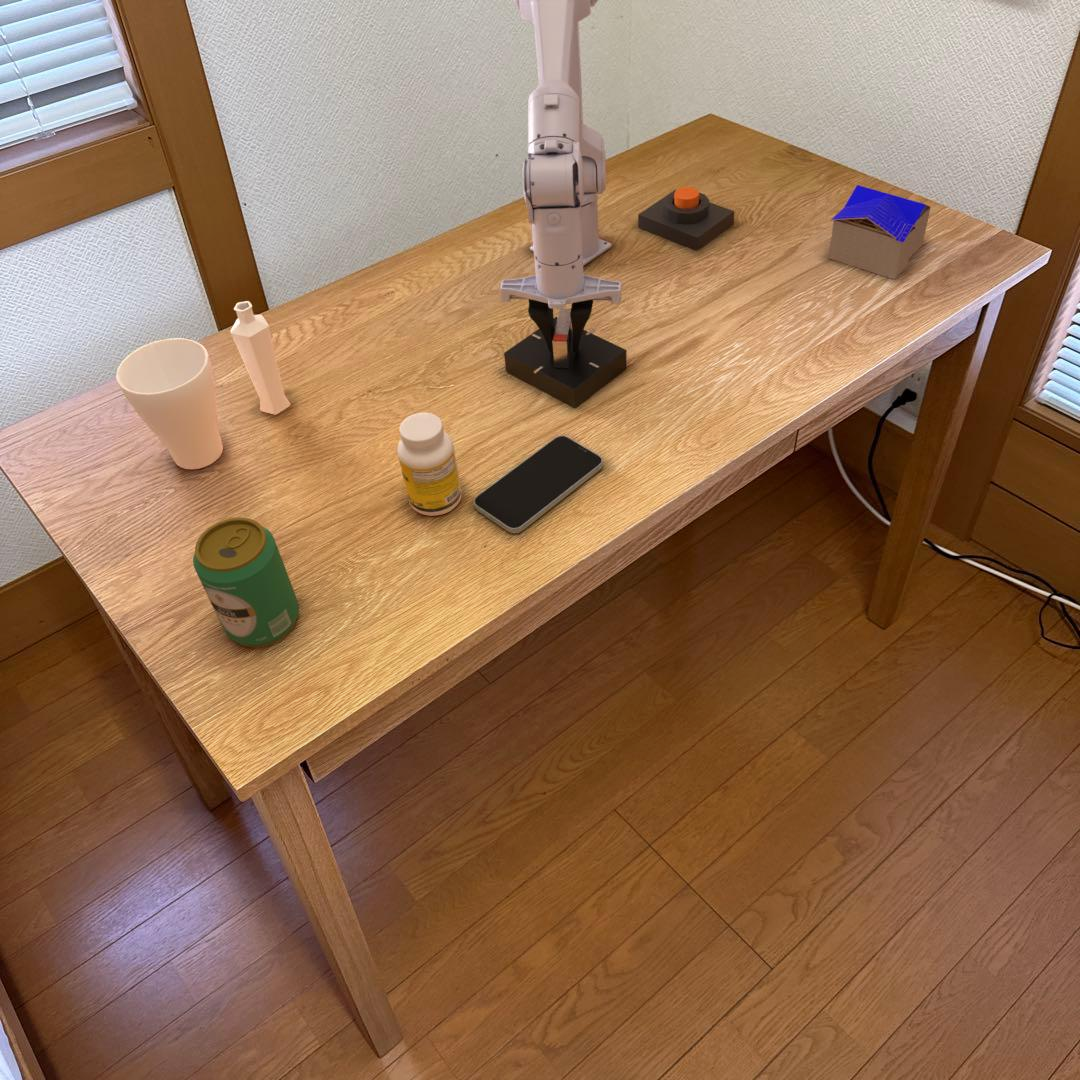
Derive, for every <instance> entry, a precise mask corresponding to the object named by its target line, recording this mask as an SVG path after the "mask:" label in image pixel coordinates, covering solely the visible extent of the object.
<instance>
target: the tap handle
mask: <svg viewBox="0 0 1080 1080" xmlns="http://www.w3.org/2000/svg"><path fill="white" fill-rule="evenodd" d="M570 312H571V308H563V309H558V314H557V317H558V318H557V322H556V327H555V332H554V337H553V341H552V343H553V356H554V368H569V363H570V358H571V352H572V345H573V331H572V323H571V317H570Z"/></svg>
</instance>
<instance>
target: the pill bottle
mask: <svg viewBox="0 0 1080 1080" xmlns="http://www.w3.org/2000/svg"><path fill="white" fill-rule="evenodd" d="M399 435H400V440H399V442H398V444H397V452H396V453H397V458H398V461H399V467H400V470H401V474H402V479H403V483H404V487H405V491H406V495H407V500H408V503H409V505H410V507H411V508H412V509H413V510H414V511H415V512H416V513H418V514H420V515H424V516H429V517H430V516H431V517H433V516H434V517H435V516H441V515H444V514H447V513H450V512H451V511H453V510H454V509H455V508H456V507H457V506H458V504H459V503H460V502H461V499H462V493H463V492H462V485H461V479H460V474H459V469H458V462H457V458H456V453H455V446H454V442H453V439H452V437H451V436H450V434H449V433H447V432H446V431H445V430H444V425H443V422H442V419H441V418H440V417H439V416H438V415H436V414H434V413H431V412H417V413H413V414H411V415H408V416H407V417H405V418H404V420H403V421H402V422H401V423H400V425H399Z"/></svg>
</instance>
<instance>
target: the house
mask: <svg viewBox="0 0 1080 1080" xmlns="http://www.w3.org/2000/svg"><path fill="white" fill-rule="evenodd" d="M931 208H932V207H931V206H930V205H927V204H926V203H923V202H919V201H915V200H912V199H908V198H905V197H901V196H898V195H893V194H891V193H887V192H884V191H880V190H877V189H873V188H869V187H866V186H862V185H858V184H857V185H856V186H855V187H854V189H853V191H852V193H851V195H850V196H849V198H848V200H847V202H846V203H845V205H844V207H843V208H842V209H841V210H840V211H838V213H836V214H835V215H834V216H833V217H832V218H831V219H830V221H833V223H832V229H831V235H830V236H831V237H830V243H829V250H828V256H827V257H828V258H827V259H830V260H831V261H832V260H833V261H835V262H838V263H842V264H845V265H848V266H851V267H854V268H857V269H861V270H863V271H865V272H866V271H867V272H869V273H873V274H875V275H879V276H882V277H885V278H889V279H892V280H896V279H897V277H899V275H900V274H902V273H903V271H905V270H906V268H907V267H908V266H909V262H910V259H911V258H912V256H913V255H915V254H916V252H918V250H919V249H920V248H921V247H922V246H923V243H924V239H925V234H926V230H927V226H928V221H929V218H930V217H929V216H930V212H931Z"/></svg>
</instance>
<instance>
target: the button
mask: <svg viewBox="0 0 1080 1080" xmlns="http://www.w3.org/2000/svg"><path fill="white" fill-rule="evenodd" d="M675 190H676V191H675V193H674V205H675V207H678V208H680V209H692V208H696V207H697V206H698V205H699V193H700V191H699V190H698V189H697V188H695V187H692V186H684V187H679V188H677V189H675Z"/></svg>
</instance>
